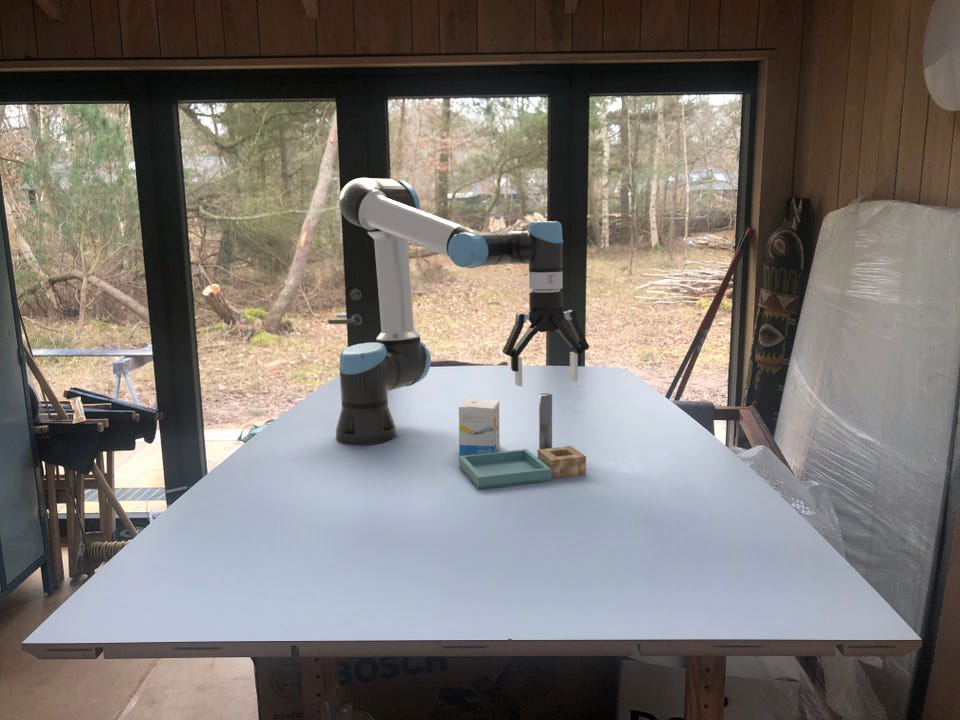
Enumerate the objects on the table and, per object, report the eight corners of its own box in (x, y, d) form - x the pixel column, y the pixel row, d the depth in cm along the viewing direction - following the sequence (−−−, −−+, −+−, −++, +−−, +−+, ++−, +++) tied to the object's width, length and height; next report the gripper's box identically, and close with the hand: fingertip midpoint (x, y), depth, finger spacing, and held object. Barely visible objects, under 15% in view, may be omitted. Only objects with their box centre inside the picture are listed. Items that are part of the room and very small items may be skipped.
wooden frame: (551, 478, 160) (551, 460, 160) (537, 466, 168) (537, 449, 167) (585, 474, 163) (586, 456, 162) (570, 463, 170) (571, 446, 170)
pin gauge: (542, 455, 176) (542, 396, 174) (537, 451, 179) (537, 393, 176) (554, 454, 177) (554, 395, 175) (549, 450, 180) (549, 392, 177)
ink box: (494, 457, 176) (493, 407, 174) (458, 455, 177) (457, 406, 175) (500, 446, 184) (500, 399, 182) (466, 444, 186) (465, 398, 184)
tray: (478, 489, 154) (478, 477, 154) (459, 467, 169) (458, 456, 168) (551, 480, 159) (551, 469, 158) (526, 459, 173) (526, 448, 173)
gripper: (498, 294, 164) (500, 390, 168) (603, 289, 171) (603, 381, 175) (488, 291, 171) (490, 383, 175) (589, 286, 178) (589, 375, 182)
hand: (546, 382), depth 175 cm, fingers open, 13 cm apart
